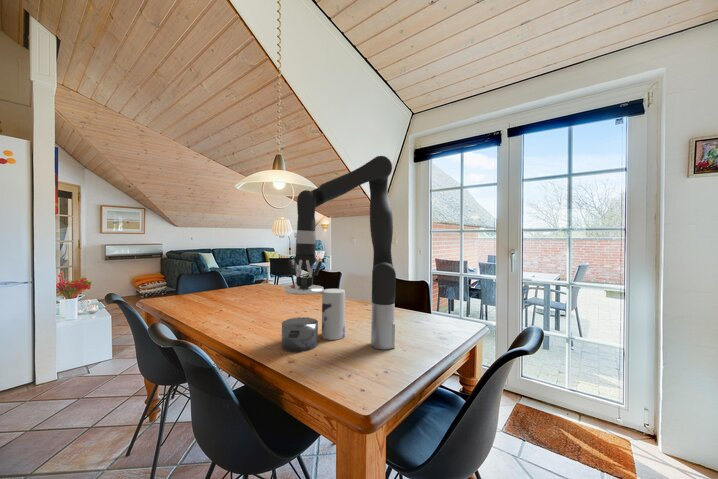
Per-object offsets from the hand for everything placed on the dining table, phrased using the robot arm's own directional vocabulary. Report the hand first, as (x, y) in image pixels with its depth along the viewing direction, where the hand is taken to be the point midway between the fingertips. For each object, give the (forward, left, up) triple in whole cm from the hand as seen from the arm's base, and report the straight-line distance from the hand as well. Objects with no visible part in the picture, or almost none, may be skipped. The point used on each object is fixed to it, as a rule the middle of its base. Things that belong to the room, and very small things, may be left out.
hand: (304, 286), depth 109 cm
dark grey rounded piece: (+2, -2, -24) cm, 24 cm away
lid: (0, 0, -2) cm, 2 cm away
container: (-10, -13, -24) cm, 29 cm away
